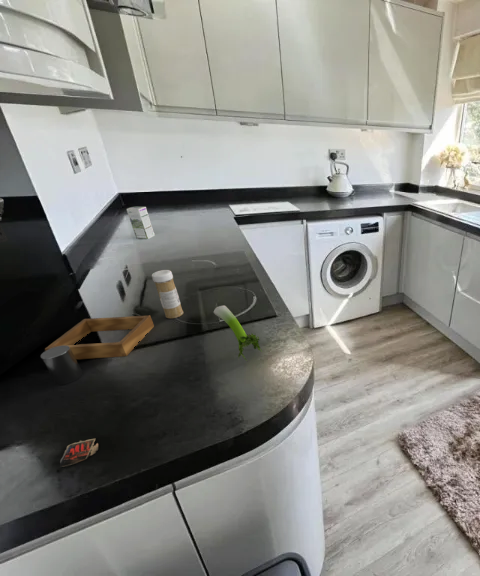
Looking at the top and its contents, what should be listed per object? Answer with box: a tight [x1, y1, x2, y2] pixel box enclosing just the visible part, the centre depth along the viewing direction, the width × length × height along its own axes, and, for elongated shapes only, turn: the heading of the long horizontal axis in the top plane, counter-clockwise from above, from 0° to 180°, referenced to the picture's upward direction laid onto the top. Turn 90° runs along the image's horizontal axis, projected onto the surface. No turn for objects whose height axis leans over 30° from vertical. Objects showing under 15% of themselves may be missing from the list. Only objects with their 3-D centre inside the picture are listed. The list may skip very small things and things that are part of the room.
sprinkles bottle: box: [151, 269, 184, 319], centre depth 90 cm, size 5×5×14 cm
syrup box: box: [126, 206, 156, 240], centre depth 154 cm, size 6×6×14 cm
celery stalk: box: [213, 305, 263, 362], centre depth 83 cm, size 6×7×30 cm
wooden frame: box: [44, 315, 155, 360], centre depth 80 cm, size 16×13×4 cm
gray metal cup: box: [40, 345, 84, 386], centre depth 68 cm, size 4×4×7 cm
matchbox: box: [59, 437, 99, 468], centre depth 54 cm, size 5×5×1 cm
